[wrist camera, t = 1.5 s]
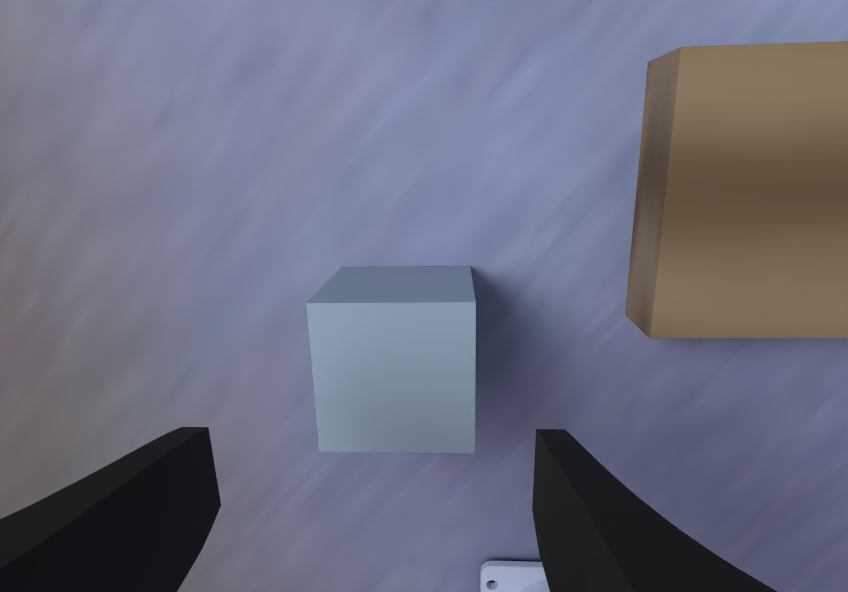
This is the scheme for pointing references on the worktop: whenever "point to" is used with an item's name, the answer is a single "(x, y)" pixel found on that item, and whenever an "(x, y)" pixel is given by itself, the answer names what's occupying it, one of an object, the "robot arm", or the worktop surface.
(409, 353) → the slate cube
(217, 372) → the worktop surface
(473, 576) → the worktop surface
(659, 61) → the walnut slab
